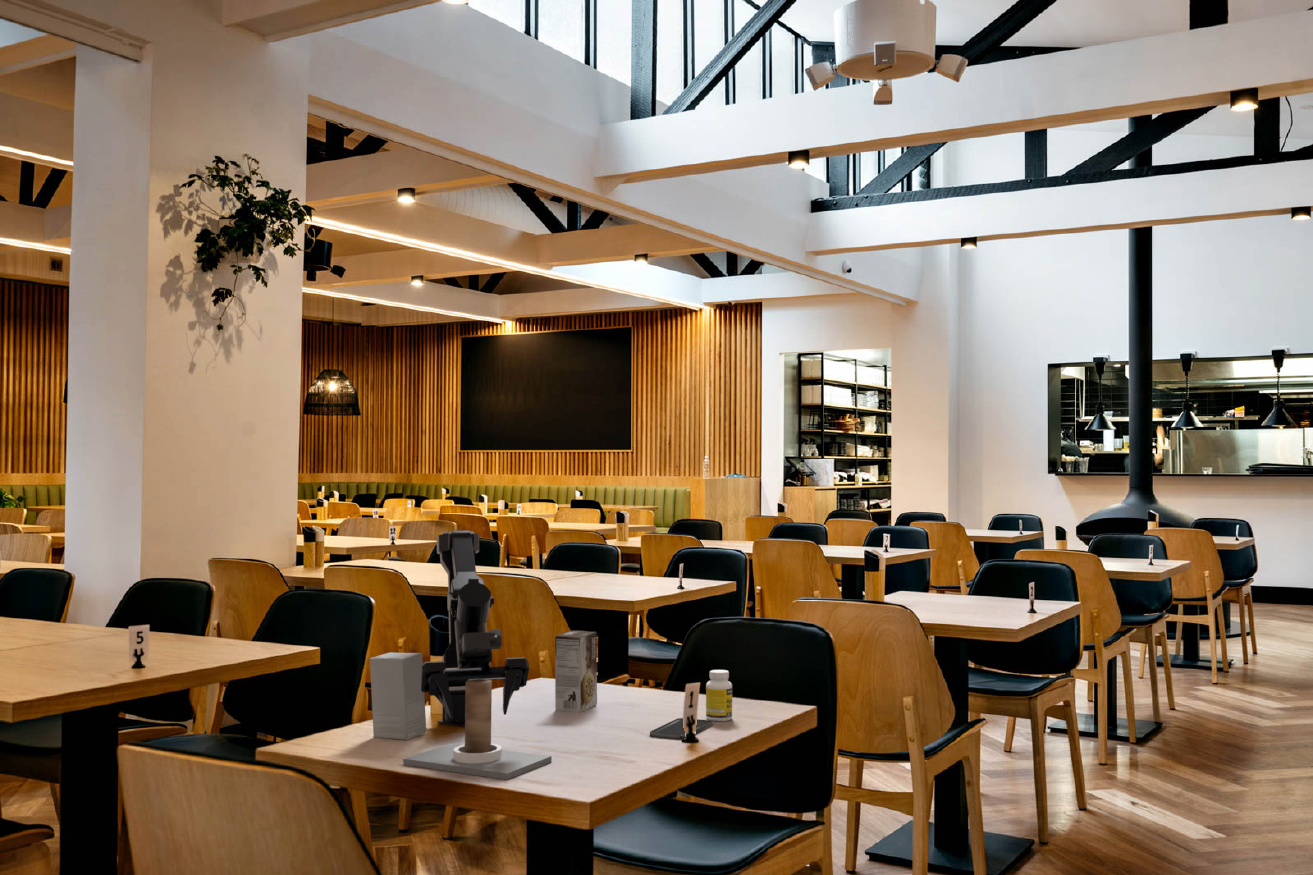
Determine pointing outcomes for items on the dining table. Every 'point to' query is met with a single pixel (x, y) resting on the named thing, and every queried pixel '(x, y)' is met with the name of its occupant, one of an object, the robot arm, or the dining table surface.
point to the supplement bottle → (719, 696)
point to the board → (480, 769)
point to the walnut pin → (478, 716)
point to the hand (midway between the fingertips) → (478, 714)
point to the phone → (678, 729)
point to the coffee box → (575, 671)
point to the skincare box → (397, 696)
